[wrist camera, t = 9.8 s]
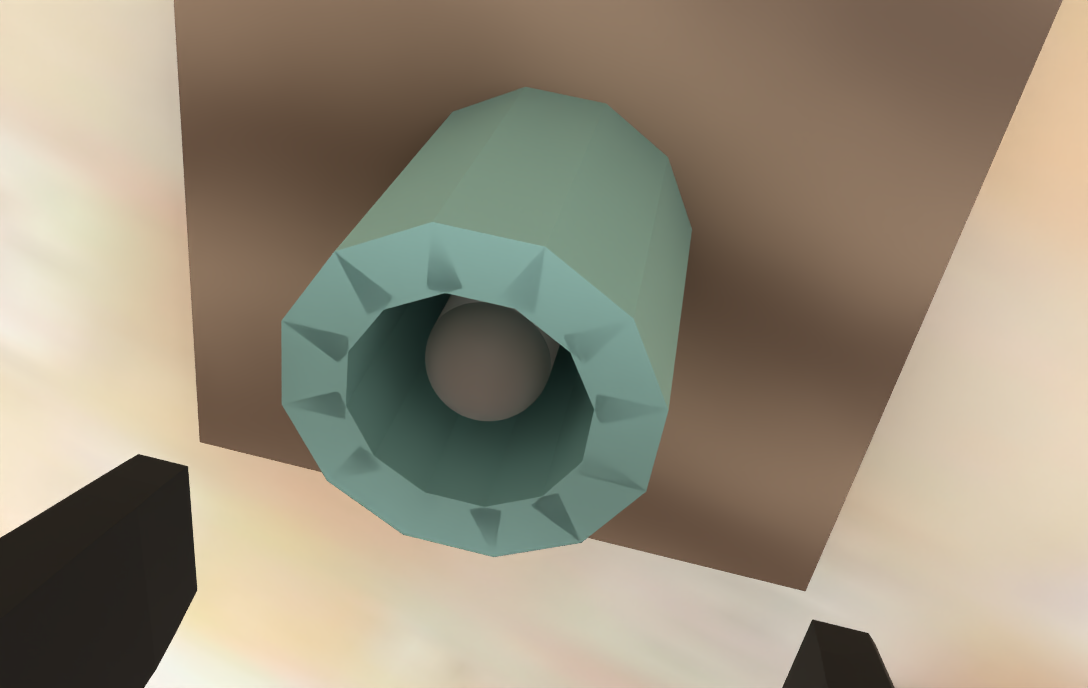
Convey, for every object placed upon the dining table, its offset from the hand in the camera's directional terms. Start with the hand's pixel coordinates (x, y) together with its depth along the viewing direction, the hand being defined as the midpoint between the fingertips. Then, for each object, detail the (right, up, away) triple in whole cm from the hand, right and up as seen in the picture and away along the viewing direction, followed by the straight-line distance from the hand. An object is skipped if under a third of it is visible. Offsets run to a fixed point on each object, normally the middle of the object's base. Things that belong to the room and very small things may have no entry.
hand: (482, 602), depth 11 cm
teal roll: (+1, +5, +8) cm, 9 cm away
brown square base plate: (+1, +6, +9) cm, 10 cm away
